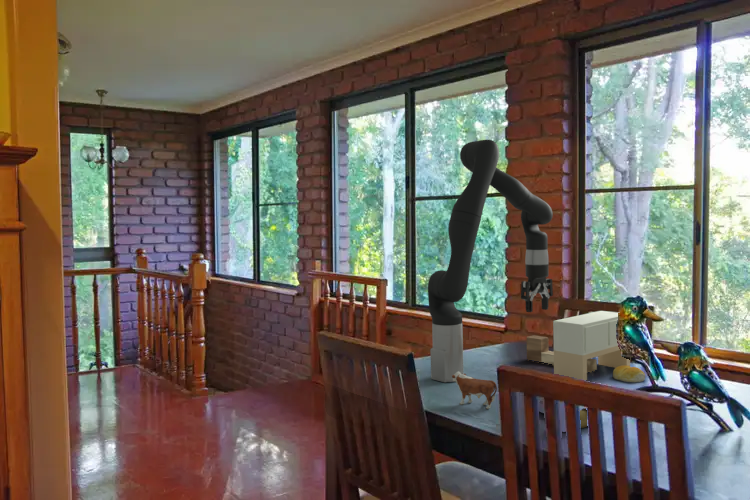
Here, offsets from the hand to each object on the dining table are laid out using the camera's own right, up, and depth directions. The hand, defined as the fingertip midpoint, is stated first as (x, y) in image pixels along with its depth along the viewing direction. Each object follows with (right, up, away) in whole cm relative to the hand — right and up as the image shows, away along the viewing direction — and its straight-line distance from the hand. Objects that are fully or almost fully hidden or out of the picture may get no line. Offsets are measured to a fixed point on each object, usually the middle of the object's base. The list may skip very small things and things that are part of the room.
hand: (537, 310), depth 210 cm
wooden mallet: (+6, -17, -6) cm, 19 cm away
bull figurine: (-29, -21, -45) cm, 58 cm away
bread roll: (+21, -18, -25) cm, 37 cm away
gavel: (-11, -21, -58) cm, 62 cm away
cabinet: (+13, -18, -17) cm, 28 cm away
